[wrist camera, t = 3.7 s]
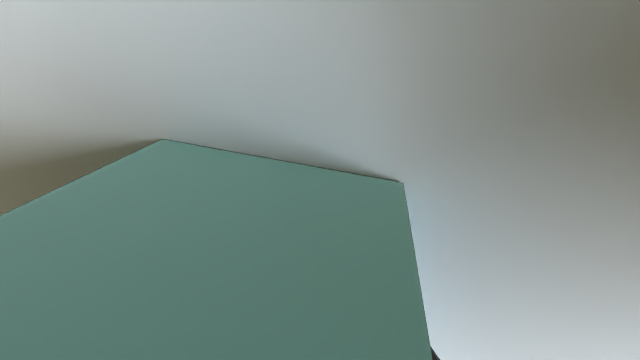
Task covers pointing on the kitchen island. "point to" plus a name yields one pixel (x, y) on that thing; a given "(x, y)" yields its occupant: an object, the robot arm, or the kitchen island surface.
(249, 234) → the teal brick
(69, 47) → the kitchen island surface
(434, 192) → the kitchen island surface
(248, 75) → the kitchen island surface
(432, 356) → the robot arm
